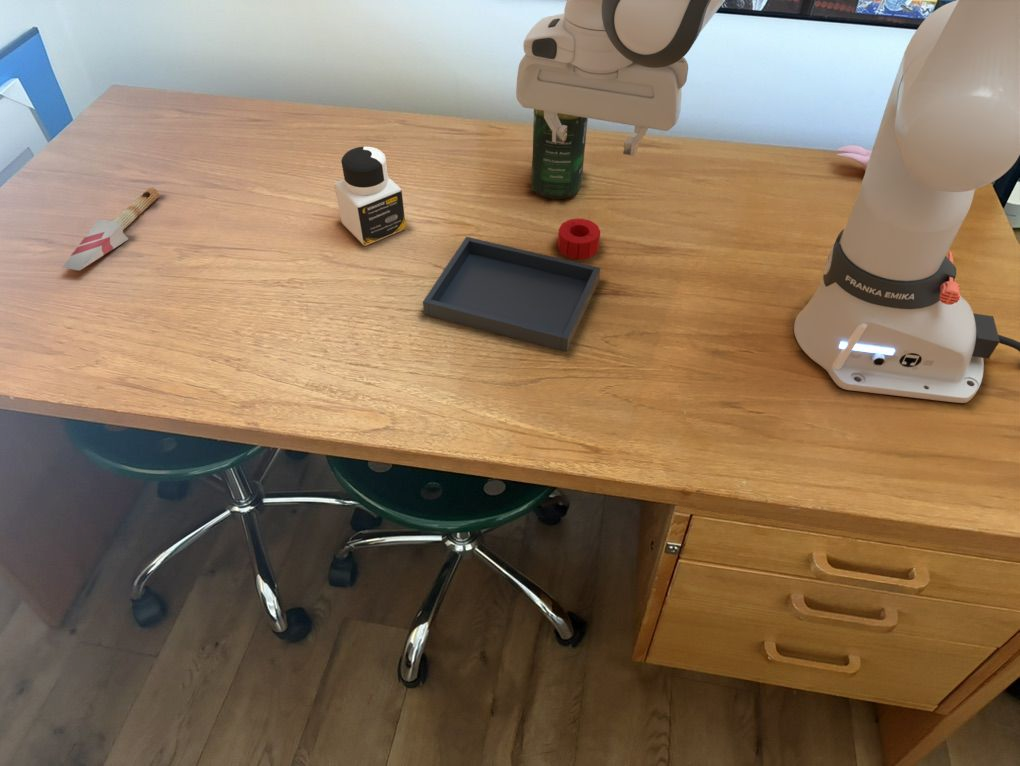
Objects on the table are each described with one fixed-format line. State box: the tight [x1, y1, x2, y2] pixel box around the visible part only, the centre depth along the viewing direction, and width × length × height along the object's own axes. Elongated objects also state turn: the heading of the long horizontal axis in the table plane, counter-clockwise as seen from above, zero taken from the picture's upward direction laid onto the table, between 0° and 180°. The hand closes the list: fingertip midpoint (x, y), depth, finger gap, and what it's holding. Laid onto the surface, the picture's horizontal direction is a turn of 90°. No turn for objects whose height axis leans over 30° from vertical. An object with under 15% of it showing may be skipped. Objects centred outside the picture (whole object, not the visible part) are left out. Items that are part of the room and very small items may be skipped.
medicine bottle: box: [334, 146, 407, 247], centre depth 113 cm, size 7×7×12 cm
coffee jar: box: [531, 109, 589, 200], centre depth 118 cm, size 10×8×19 cm
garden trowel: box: [62, 187, 160, 272], centre depth 115 cm, size 4×3×20 cm
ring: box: [557, 218, 601, 260], centre depth 113 cm, size 6×6×3 cm
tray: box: [422, 236, 601, 352], centre depth 106 cm, size 20×15×3 cm
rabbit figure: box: [836, 144, 872, 172], centre depth 124 cm, size 6×6×15 cm
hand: (594, 146), depth 102 cm, fingers open, 8 cm apart
